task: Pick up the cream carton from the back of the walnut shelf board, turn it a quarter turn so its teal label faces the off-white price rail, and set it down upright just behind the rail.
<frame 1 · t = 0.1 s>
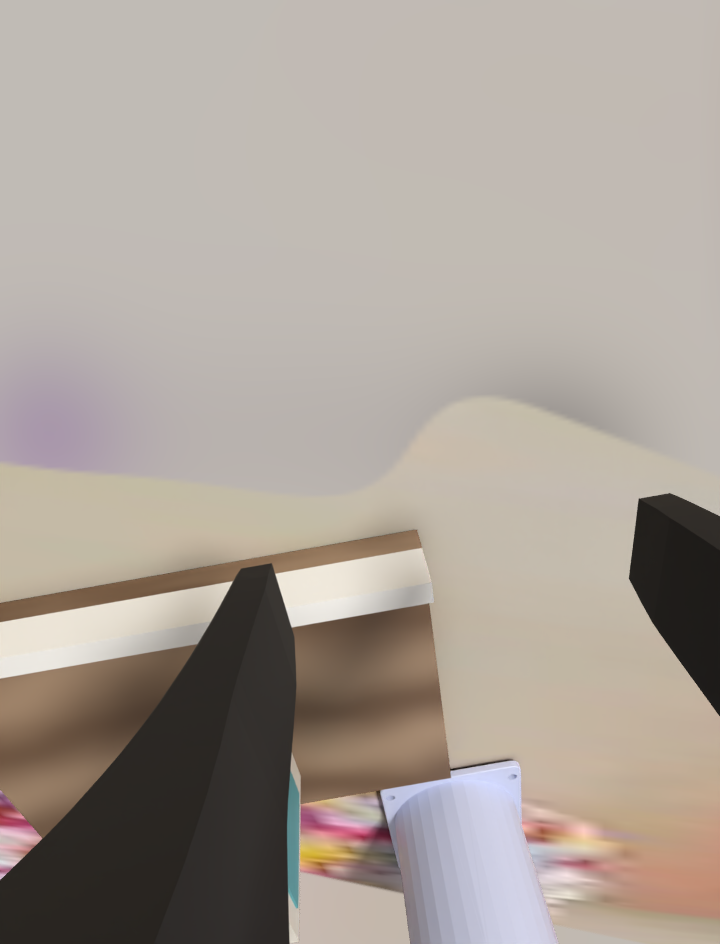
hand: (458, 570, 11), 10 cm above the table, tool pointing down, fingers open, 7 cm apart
carton: (285, 735, 27), point 1 cm above the table, touching shelf
shelf: (210, 699, 27), on the table
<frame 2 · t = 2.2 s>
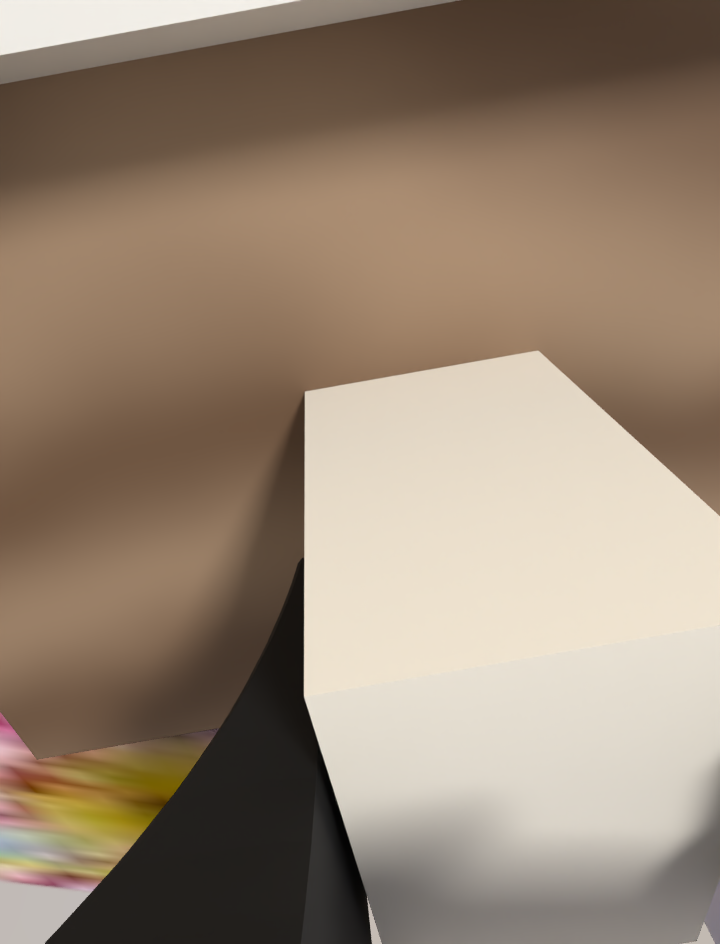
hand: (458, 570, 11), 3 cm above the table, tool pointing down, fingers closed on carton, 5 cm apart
carton: (536, 498, 13), point 1 cm above the table, touching gripper
shelf: (376, 421, 13), on the table
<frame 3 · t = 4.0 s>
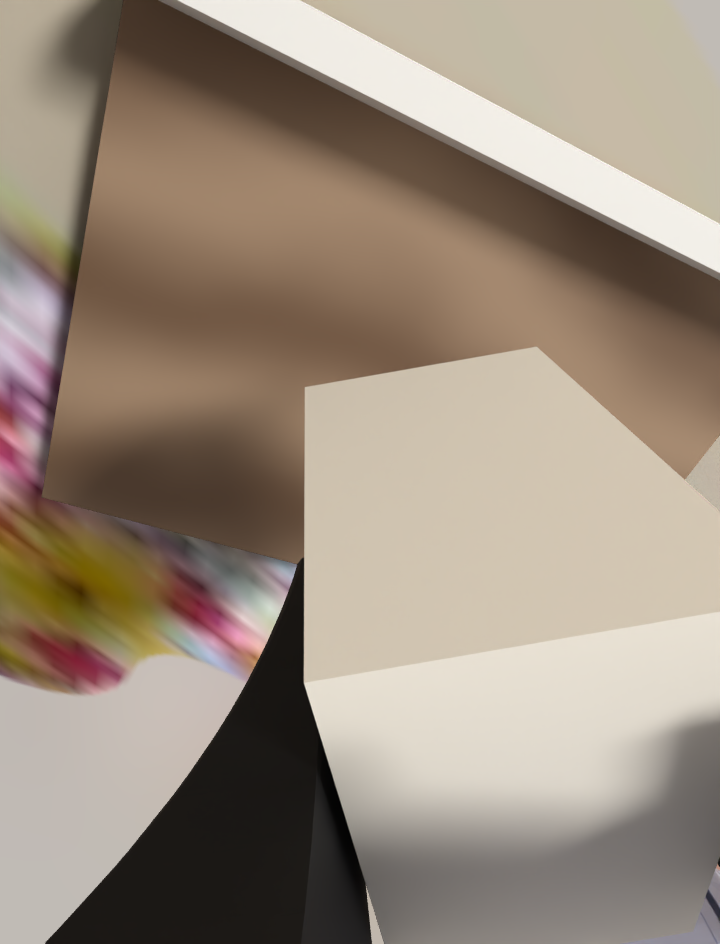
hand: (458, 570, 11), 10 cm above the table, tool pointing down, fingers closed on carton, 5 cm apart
carton: (535, 494, 13), point 8 cm above the table, touching gripper
shelf: (415, 386, 20), on the table
when the fingers open (5 cm above the table, at t = 6.2 s): carton drops 1 cm, resting on shelf.
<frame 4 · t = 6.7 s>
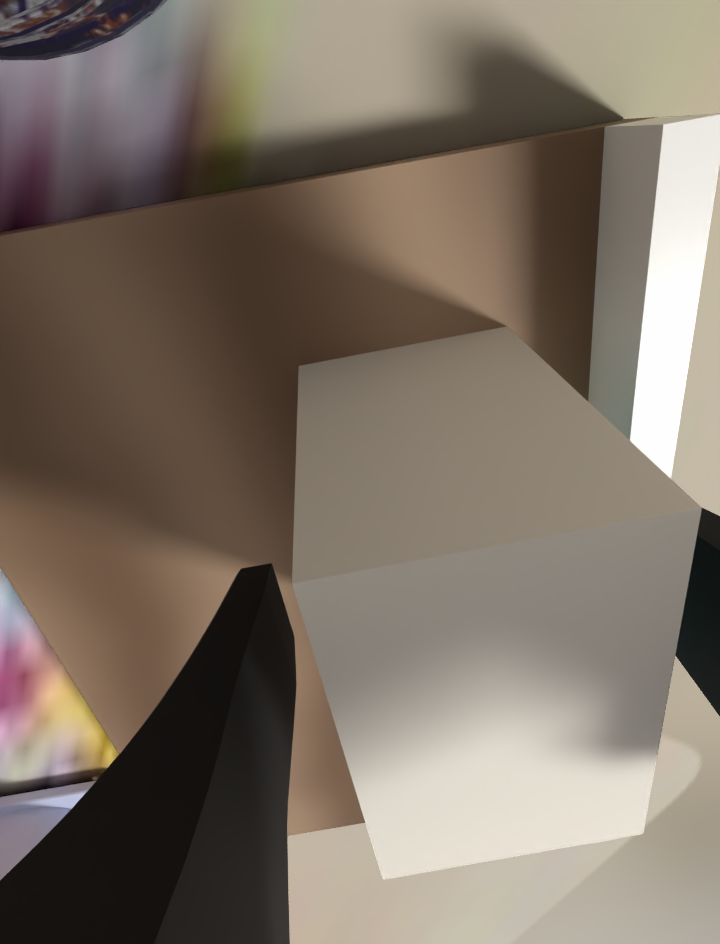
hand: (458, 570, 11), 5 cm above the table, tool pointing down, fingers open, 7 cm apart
carton: (511, 463, 14), point 1 cm above the table, touching shelf
shelf: (334, 587, 17), on the table
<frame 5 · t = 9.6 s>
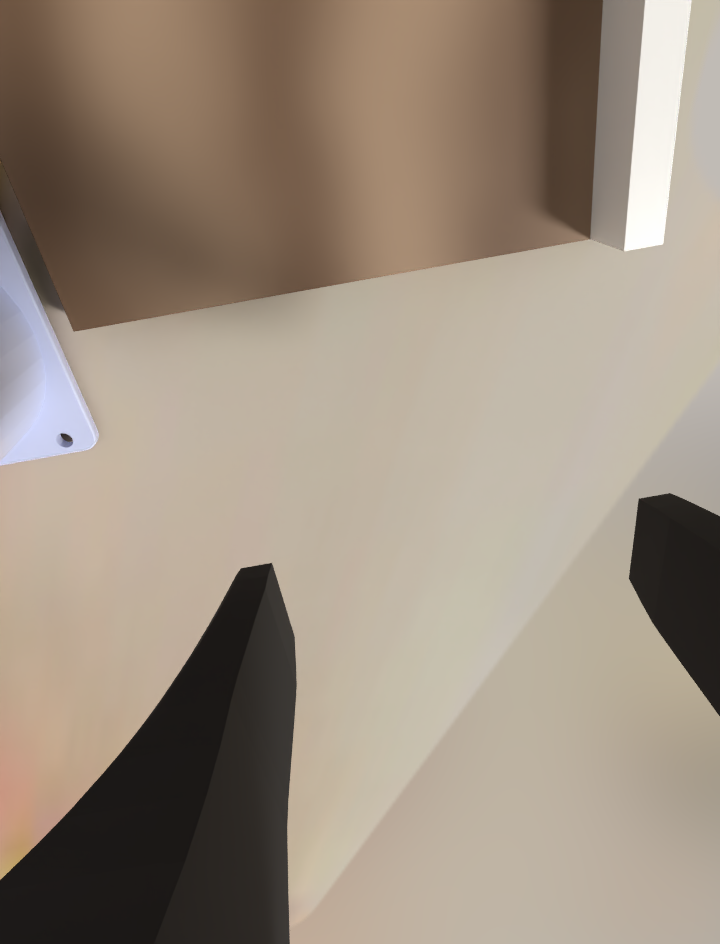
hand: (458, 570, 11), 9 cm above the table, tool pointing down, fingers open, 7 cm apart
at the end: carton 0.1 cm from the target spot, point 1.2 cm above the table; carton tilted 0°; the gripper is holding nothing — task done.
